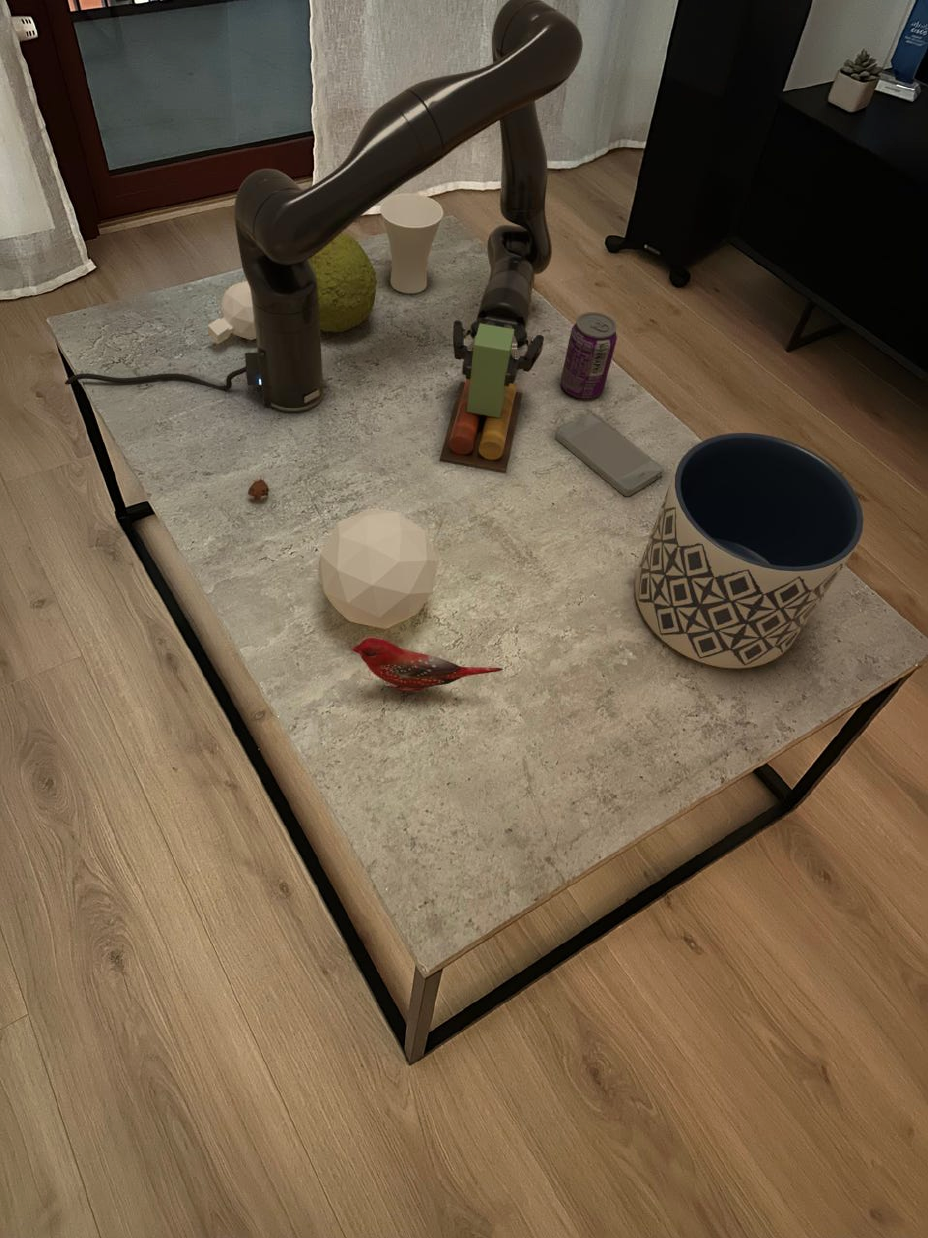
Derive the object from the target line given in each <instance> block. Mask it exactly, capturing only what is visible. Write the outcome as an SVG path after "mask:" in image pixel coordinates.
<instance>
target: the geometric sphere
mask: <svg viewBox="0 0 928 1238" xmlns="http://www.w3.org/2000/svg"><path fill="white" fill-rule="evenodd" d="M318 558H319V560H318V572H317V573H318V574H317V576H318V579H319V582H320V585H321V587H322V591H323V593H324V595H325V597H326V598H327V599H328V600H329V602H330V604H331V605H332V607H334V608H335V609H336V610H337V611H338V612H339V613H340V614H341V615H342V616H343V617H344V618H345V619H346V620H347V621H349V622H351V623H355V624H359V625H364V626H369V627H373V628H374V627H375V628H378V629H383V630H387V629H389V628H391V627H393V626H395V625H397V624H399V623H401V622H403V621H405V620H408V619H410V618H413V616H416V615H418V614H419V612H420V610H421V609H422V608H423V607H424V605H425V604H426V602H427V601H428V599H429V598H430V596H432V594H433V592H434V587H435V581H436V578H437V577H436V575H437V571H438V566H439V559H438V556H437V554H436V552H435V550H434V547H433V545H432V543H431V541H430V539H429V536H428V534H427V532H426V530H425V529H423V528H422V527H420V526H419V525H417V524H416V523H414V522H413V521H411V519H409V518H407V517H406V516H404V515H403V514H401V513H400V512H398V511H394V510H387V509H380V508H373V507H371V508H368V509H366V510H362V511H361V512H358V513H356V514H353V515H351V516H349V517H346V518H344V519H342V520H339V521H337V523H336V525H335V526H334V528H333V530H332V532H331V534H330V535H329V537H328V539H327V541H326V543H325V544H324V545H323V547H322V549H321V551H320V553H319V557H318Z"/></svg>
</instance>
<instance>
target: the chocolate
mask: <svg viewBox="0 0 928 1238" xmlns="http://www.w3.org/2000/svg"><path fill="white" fill-rule="evenodd" d="M263 477H264V474H263V473H261V475H258V476H255V477H252V478H251V479H250V481H252V482H253V483H252V484H251V485H250V486H249V488H248V491H247V495H248V497H249V498H251V499H253V500H255V501H262V500H265V499H266V498H267V497H268V496H269V493H271V492H272V491H271V488H269V486H268V484H267V483H266V481H265V480H264V479H262V478H263Z"/></svg>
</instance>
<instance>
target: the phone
mask: <svg viewBox="0 0 928 1238" xmlns="http://www.w3.org/2000/svg"><path fill="white" fill-rule="evenodd" d="M554 437H555V440H557V441H558V442H559V443H560V444H561V445H563V447H565V448H566V449H567V450H568V451H570V452H571V453H572V454H573V455H574V456H575V457H577V458H578V459H579V460H580V461H581V462H583V463H584V464H585V465H586V466H588V467H589V468H590V469H591V470H592V471H594V472H595V473H596V474H597V475H598V476H600V477H601V478H602V479H603V480H604V481H606V482H607V483H608V484H609V485H611V486H612V487H613V488H614V489H616V490H617V492H619V493H620V494H621V495H623V496H624V497H630V496H632V495H634V494H635V493H637V492H639V491H640V490H642V489H644V488H646V487H647V486H649V485H650V484H652V483H654V482H655V481H657V480H659V479H660V478H661V477H662V476H663V473H664V467H663V466H662V465H661V464H659V463H658V462H657V461H656V460H654V459H653V458H652V457H651V456H649V455H648V454H647V453H645V452H644V451H643V450H642V449H640V448H639V447H638V446H636V445H635V444H634V443H633V442H631V441H630V440H629V439H628V438H626V437H625V436H624V435H623V434H621V433H620V432H619V431H617V429H615V428H614V427H612V426H611V425H610V424H608V423H607V421H605V420H604V419H603V418H602V417H600V416H599V415H598V414H596V413H595V412H592V411H589V412H587V413H585V414H583V415H581V416H579V417H577V418H575V419H573V420H572V421H570V422H568V423H566V424H564V425H562V426H560V427H559V428H557V429H556V430H555V435H554Z"/></svg>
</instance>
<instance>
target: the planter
mask: <svg viewBox="0 0 928 1238" xmlns="http://www.w3.org/2000/svg"><path fill="white" fill-rule="evenodd" d="M864 521H865V520H864V513H863V508H862V504H861V502H860V500H859V497H858V495H857V493H856V492H855V490H854V487H852V486H851V484H850V482H848V479H846V477H845V476H844V475H843V474H842V473H841V472H840V471H839V470H838V469H837V468H836V467H835V466H833V465H832V464H831V463H829V462H828V461H827V460H826V459H825V458H823V457H822V456H820V455H819V454H817V453H816V452H814V451H812V450H810V449H808V448H806V447H804V446H802V445H800V444H798V443H795V442H791V441H790V440H787V439H784V438H780V437H776V436H773V435H767V434H762V433H755V432H753V433H752V432H731V433H724V434H719V435H716V436H712V437H709V438H707V439H705V440H703V441H701V442H698V443H697V444H695V445H694V446H692V448H690V449H689V450H688V451H686V453H684V455H683V456H681V458H680V461H679V462H678V464H677V465H676V468H675V471H674V474H673V475H672V478H671V481H670V483H669V486H668V488H667V491H666V493H665V496H664V499H663V501H662V504H661V507H660V510H659V512H658V515H657V517H656V520H655V522H654V525H653V528H652V530H651V533H650V536H649V539H648V541H647V544H646V546H645V549H644V552H643V554H642V557H641V560H640V563H639V565H638V569H637V572H636V575H635V582H634V593H635V599H636V603H637V605H638V609H639V611H640V613H641V615H642V617H643V619H644V620H645V622H646V623H647V625H648V626H649V627H650V629H651V630H652V631H653V632H654V633H655V635H657V637H659V638H660V640H662V641H663V642H664V643H665V644H666V645H668V646H669V647H670V648H672V649H673V650H675V651H676V652H678V653H679V654H681V655H683V656H685V657H687V658H689V659H692V660H694V661H696V662H699V663H702V664H705V665H709V666H711V667H718V668H722V669H723V668H724V669H747V668H753V667H757V666H763V665H765V664H767V663H770V662H771V661H774V660H776V659H777V658H779V657H781V656H782V655H784V653H785V652H786V651H787V650H788V649H789V648H790V647H792V645H793V643H794V642H795V640H796V639H797V637H798V636H799V634H800V633H801V631H802V630H803V628H804V627H805V625H806V624H807V622H808V621H809V620H810V618H811V616H812V615H813V613H814V612H815V610H816V609H817V608H818V606H819V605H820V603H821V601H822V600H823V598H824V597H825V595H826V594H827V592H828V591H829V589H830V588H831V586H832V584H833V583H834V582H835V580H836V579H837V577H838V576H839V574H840V572H841V571H842V569H843V568H844V566H845V565H846V563H847V562H848V560H849V559H850V557H851V555H852V554H853V552H854V551H855V549H856V548H857V546H858V545H859V543H860V541H861V537H862V535H863V532H864Z"/></svg>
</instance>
